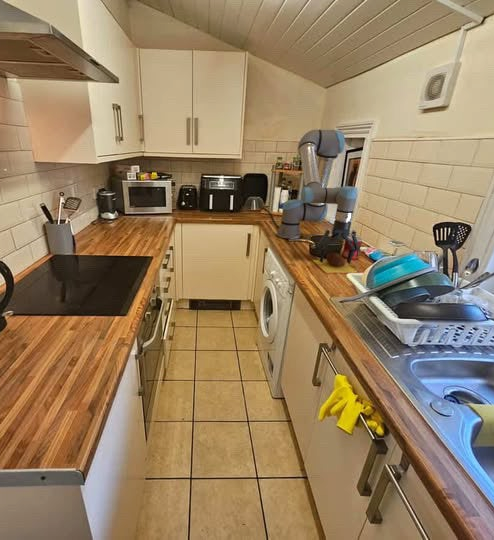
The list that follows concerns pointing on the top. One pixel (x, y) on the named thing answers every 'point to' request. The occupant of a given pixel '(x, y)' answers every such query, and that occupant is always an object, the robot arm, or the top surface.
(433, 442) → the top surface
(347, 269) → the tea towel
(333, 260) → the potato
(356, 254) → the canned food
